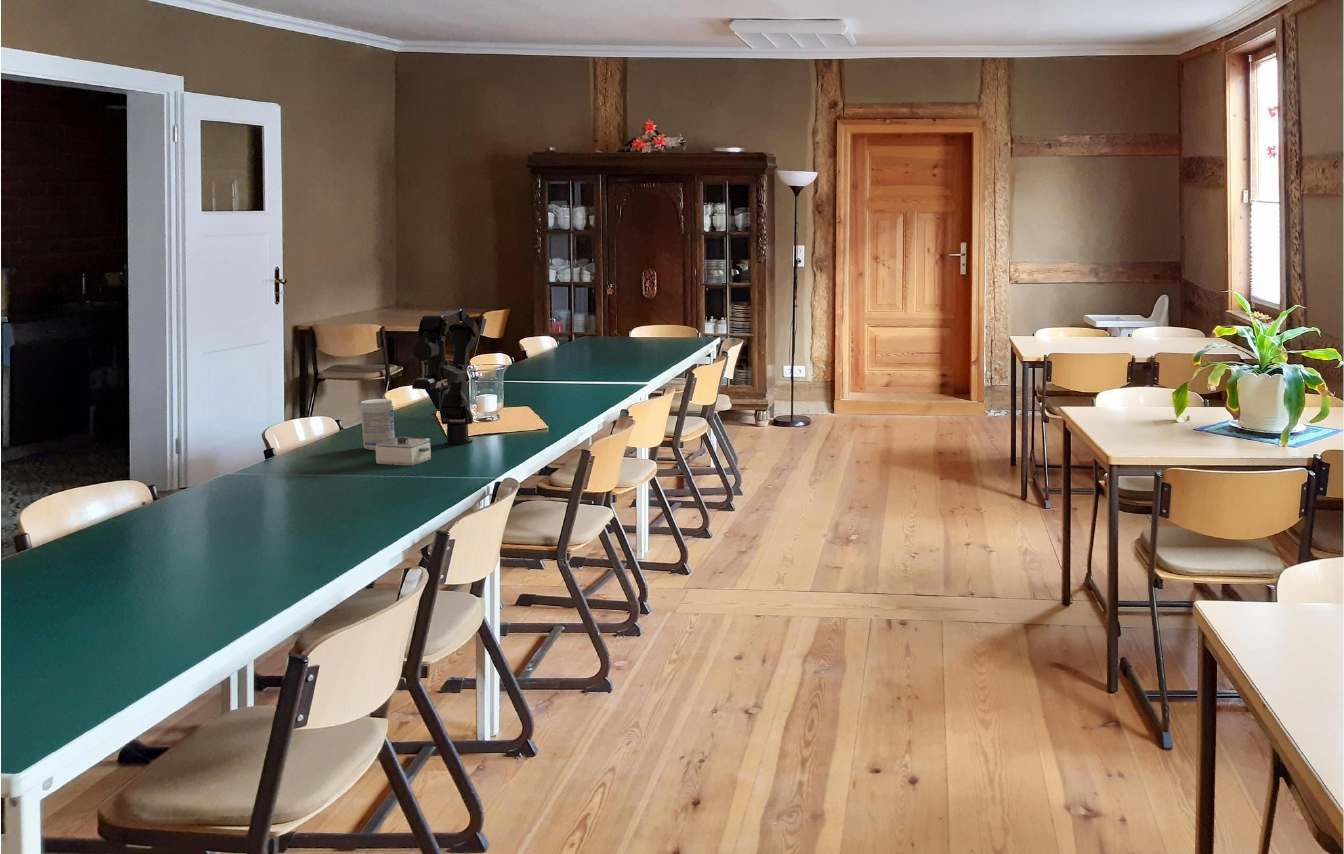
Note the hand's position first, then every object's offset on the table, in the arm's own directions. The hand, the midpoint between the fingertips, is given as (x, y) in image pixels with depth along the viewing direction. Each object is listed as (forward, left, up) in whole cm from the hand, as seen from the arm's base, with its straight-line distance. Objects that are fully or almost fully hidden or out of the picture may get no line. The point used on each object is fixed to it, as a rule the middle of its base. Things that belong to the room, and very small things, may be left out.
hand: (438, 409), depth 373 cm
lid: (+16, 0, -8) cm, 18 cm away
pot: (+16, 0, -13) cm, 21 cm away
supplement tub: (+3, -22, -13) cm, 26 cm away
